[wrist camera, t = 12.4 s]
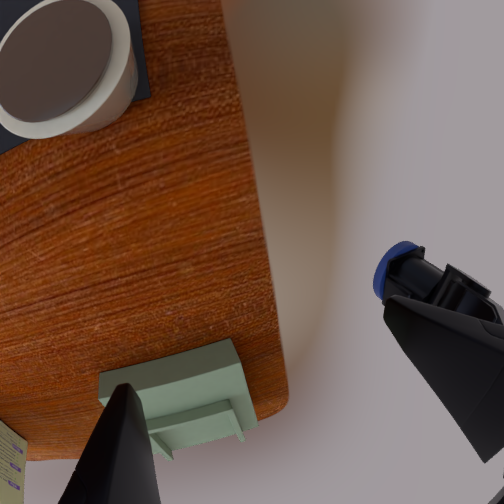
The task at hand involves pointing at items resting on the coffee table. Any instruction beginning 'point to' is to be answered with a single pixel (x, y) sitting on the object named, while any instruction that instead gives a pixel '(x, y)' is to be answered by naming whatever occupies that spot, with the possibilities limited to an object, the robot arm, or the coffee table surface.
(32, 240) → the coffee table surface
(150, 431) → the stand
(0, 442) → the box
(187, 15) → the coffee table surface
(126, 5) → the mat
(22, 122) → the jar
